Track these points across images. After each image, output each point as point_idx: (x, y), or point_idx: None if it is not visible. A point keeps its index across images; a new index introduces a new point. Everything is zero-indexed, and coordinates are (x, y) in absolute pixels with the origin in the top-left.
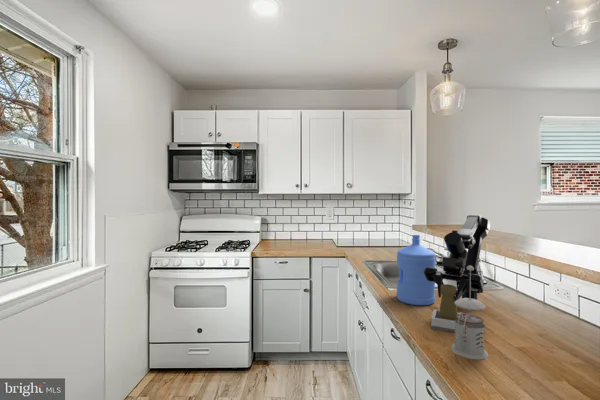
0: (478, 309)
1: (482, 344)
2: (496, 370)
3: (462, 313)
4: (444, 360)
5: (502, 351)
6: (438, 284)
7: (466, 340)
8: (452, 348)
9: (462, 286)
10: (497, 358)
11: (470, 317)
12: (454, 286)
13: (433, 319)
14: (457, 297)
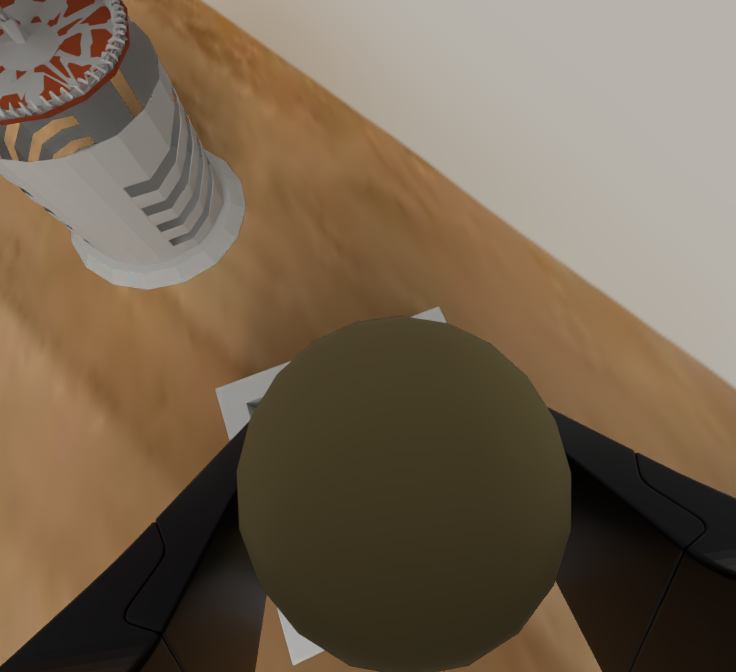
0: None
1: (49, 152)
2: None
3: (306, 649)
4: (222, 70)
5: (8, 325)
6: (673, 488)
7: (115, 91)
8: (227, 168)
9: (53, 642)
10: (29, 229)
11: (6, 28)
12: (279, 540)
13: (424, 313)
14: (236, 441)
